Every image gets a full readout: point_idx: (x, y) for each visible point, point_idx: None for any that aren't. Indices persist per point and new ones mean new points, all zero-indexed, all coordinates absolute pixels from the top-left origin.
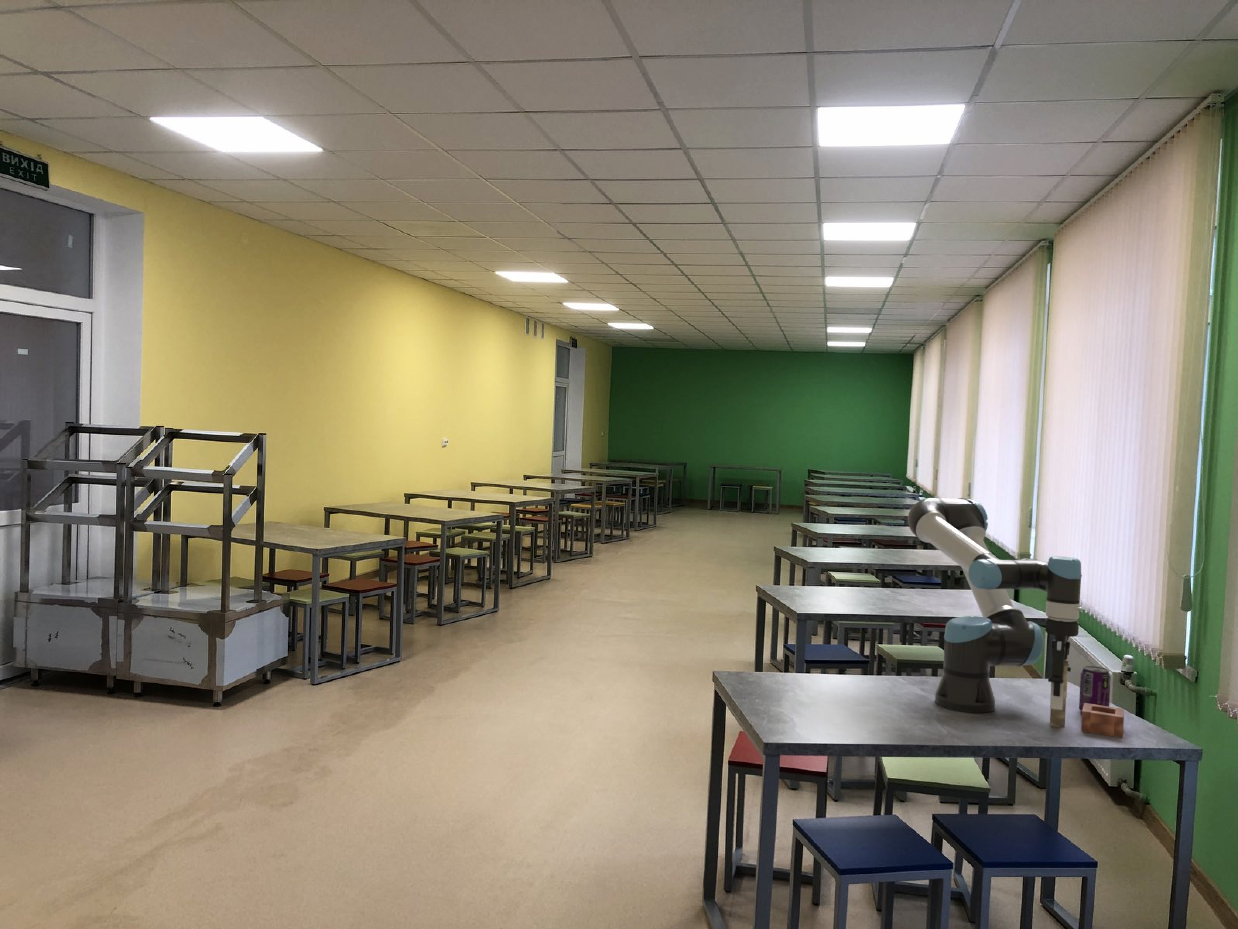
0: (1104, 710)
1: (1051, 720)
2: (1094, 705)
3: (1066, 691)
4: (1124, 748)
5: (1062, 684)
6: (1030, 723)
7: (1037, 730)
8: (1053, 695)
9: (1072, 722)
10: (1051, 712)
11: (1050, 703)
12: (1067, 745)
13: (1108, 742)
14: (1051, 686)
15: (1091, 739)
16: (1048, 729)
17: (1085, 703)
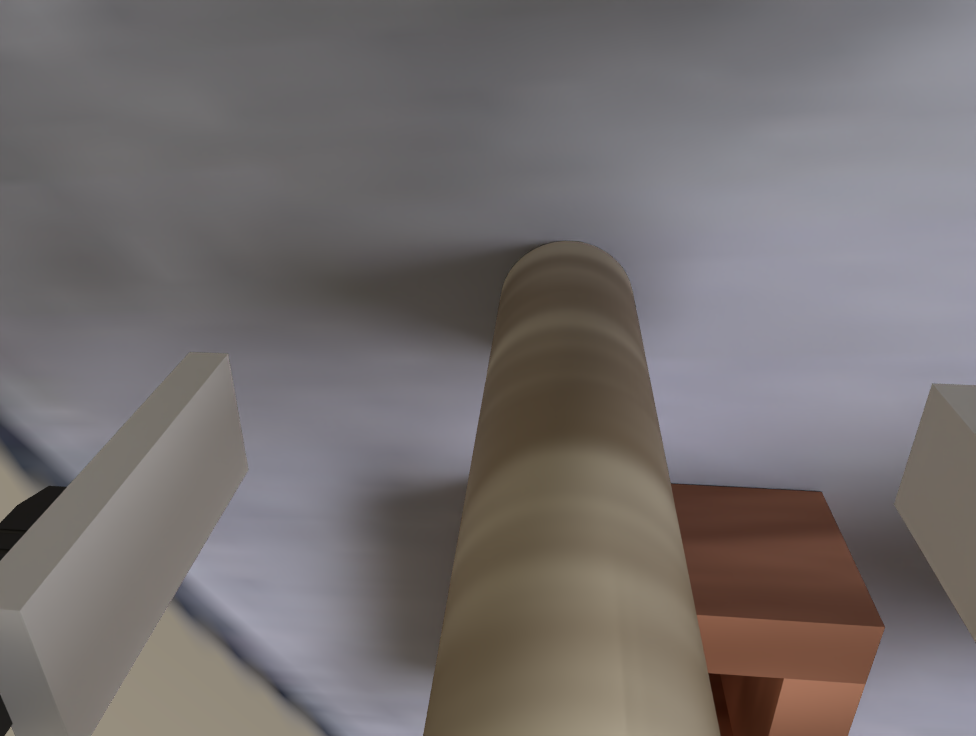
0: (760, 728)
1: (522, 275)
2: (805, 695)
3: (931, 561)
4: (256, 677)
5: (27, 730)
6: (483, 53)
7: (258, 145)
8: (42, 492)
9: (770, 416)
10: (523, 306)
11: (165, 384)
12: (6, 389)
13: (324, 613)
14: (15, 549)
15: (316, 529)
16: (372, 238)
17: (857, 635)
